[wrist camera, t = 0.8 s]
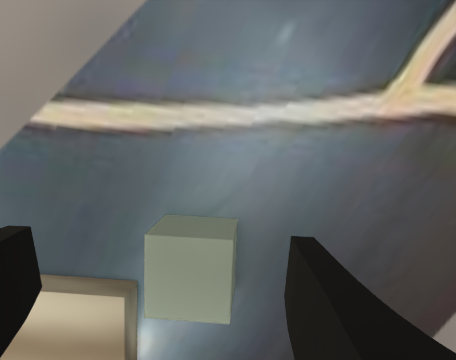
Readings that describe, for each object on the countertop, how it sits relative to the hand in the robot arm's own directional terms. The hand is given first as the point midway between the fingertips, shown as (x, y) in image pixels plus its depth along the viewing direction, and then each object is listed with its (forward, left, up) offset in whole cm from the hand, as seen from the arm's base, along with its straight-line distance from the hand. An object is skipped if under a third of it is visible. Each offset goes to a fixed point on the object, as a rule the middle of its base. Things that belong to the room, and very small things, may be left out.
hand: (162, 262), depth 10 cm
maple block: (-12, +10, -15) cm, 22 cm away
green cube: (-5, +1, -15) cm, 16 cm away
